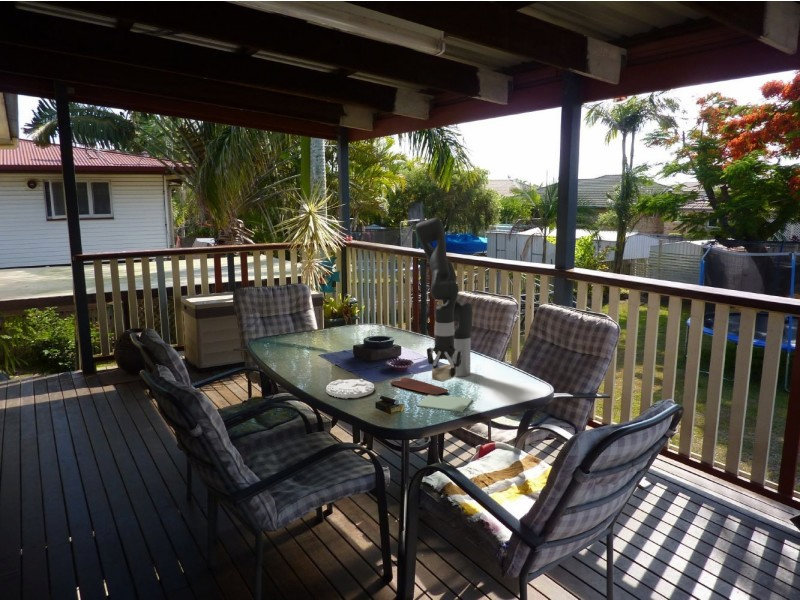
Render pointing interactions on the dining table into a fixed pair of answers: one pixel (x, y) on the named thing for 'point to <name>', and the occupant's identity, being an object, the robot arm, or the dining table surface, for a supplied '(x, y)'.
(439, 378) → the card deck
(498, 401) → the dining table surface
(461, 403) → the mat
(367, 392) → the embossed medallion
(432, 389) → the wooden tablet
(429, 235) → the robot arm
